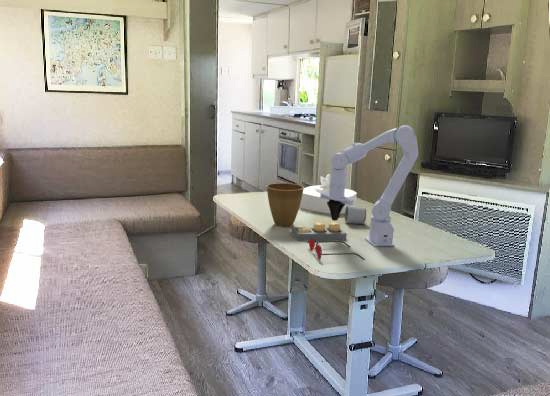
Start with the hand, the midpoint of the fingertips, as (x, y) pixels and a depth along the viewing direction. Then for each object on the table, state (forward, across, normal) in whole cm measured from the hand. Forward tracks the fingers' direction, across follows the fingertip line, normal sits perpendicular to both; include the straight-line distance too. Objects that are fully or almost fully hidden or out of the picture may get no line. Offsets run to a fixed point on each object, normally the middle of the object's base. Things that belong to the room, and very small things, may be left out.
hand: (334, 220), depth 193 cm
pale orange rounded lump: (+6, +6, +10) cm, 13 cm away
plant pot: (+7, +23, +5) cm, 24 cm away
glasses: (+7, -14, +16) cm, 22 cm away
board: (+6, +5, +4) cm, 9 cm away
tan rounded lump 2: (+4, 0, 0) cm, 4 cm away
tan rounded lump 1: (+4, +3, +5) cm, 7 cm away
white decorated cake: (+7, +34, -36) cm, 50 cm away
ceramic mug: (+7, +8, -23) cm, 26 cm away
